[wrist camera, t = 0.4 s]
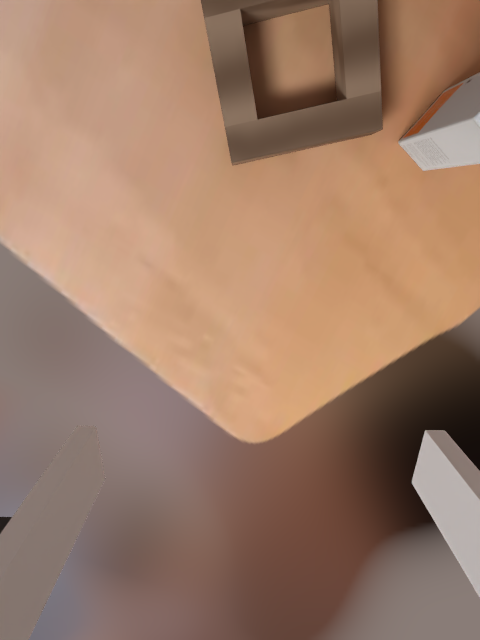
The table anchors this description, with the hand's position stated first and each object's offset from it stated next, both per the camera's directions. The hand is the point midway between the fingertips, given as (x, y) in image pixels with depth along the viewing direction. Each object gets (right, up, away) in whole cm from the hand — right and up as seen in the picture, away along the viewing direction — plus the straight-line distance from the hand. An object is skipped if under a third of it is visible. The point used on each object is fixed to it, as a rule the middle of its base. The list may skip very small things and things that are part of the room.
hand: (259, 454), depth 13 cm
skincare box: (+18, +24, +19) cm, 36 cm away
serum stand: (+4, +29, +17) cm, 34 cm away
